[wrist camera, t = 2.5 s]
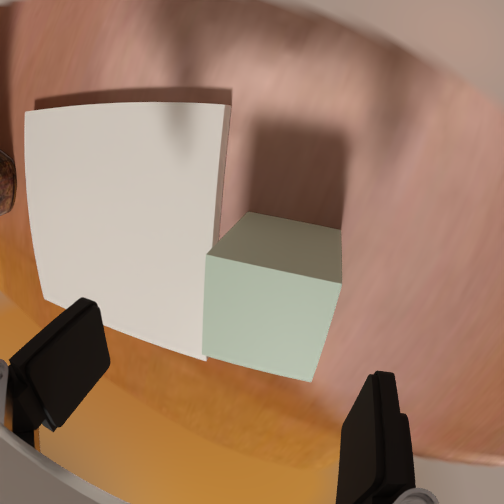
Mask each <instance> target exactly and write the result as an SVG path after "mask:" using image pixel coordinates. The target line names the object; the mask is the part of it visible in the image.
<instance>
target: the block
mask: <svg viewBox="0 0 504 504" xmlns="http://www.w3.org/2000/svg"><path fill="white" fill-rule="evenodd" d="M341 286H342V243H341V230H339V229H334V228H329V227H325V226H320V225H315V224H310V223H305V222H300V221H295V220H290V219H285V218H280V217H275V216H269V215H264V214H259V213H254V212H247V213H246V214H245V215H244V216H243V217H242V218H241V219H240V220H239V221H238V222H237V223H236V224H235V225H234V226H233V227H232V228H231V229H230V230H229V231H228V232H227V233H226V234H225V235H224V236H223V237H222V238H221V239H220V240H219V241H218V242H217V244H216V245H215V246H214V247H213V248H212V249H211V250H210V251H209V252H208V253H207V254H206V261H205V281H204V303H203V331H202V355H205V356H208V357H212V358H215V359H219V360H222V361H226V362H229V363H233V364H237V365H240V366H244V367H248V368H252V369H256V370H260V371H264V372H268V373H272V374H276V375H281V376H285V377H289V378H294V379H299V380H303V381H308V382H311V381H312V378H313V376H314V373H315V370H316V367H317V364H318V361H319V358H320V355H321V352H322V349H323V346H324V343H325V340H326V337H327V334H328V330H329V327H330V324H331V321H332V317H333V314H334V311H335V307H336V304H337V300H338V297H339V293H340V290H341Z"/></svg>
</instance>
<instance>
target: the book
mask: <svg viewBox="0 0 504 504" xmlns="http://www.w3.org/2000/svg"><path fill="white" fill-rule="evenodd" d="M16 186H17V179H16V169H15V165H14V161H13V159H12V158H10V157H9V156H8V155H6V154H5V153H4V152H3V151H1V150H0V216H1V215H3V214H5V213H8V212H10V211H11V209H12V208H13V205H14V202H15V197H16Z"/></svg>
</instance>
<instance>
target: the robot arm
mask: <svg viewBox="0 0 504 504" xmlns="http://www.w3.org/2000/svg"><path fill="white" fill-rule="evenodd" d="M9 361H10V365H9V366H8V365H7V363H6V362H5V361H4V360H2V359H0V504H130V503H128V502H125V501H123V500H121V499H119V498H117V497H115V496H113V495H111V494H109V493H107V492H105V491H103V490H101V489H99V488H97V487H96V486H94V485H92V484H90V483H88V482H87V481H85V480H83V479H81V478H80V477H78V476H76V475H74V474H73V473H71V472H69V471H68V470H66V469H64V468H63V467H61V466H60V465H58V464H56V463H55V462H53V461H52V460H50V459H49V458H47V457H46V456H44V455H43V454H42V453H41V452H40V440H39V426H40V425H41V424H43V425H44V426H45V427H46V428H48V429H50V430H51V431H53V432H54V431H55V430H56V428H57V427H61V426H62V425H63V424H64V423H65V421H66V420H67V419H68V418H69V417H70V415H71V414H72V413H73V411H74V410H75V409H76V408H77V406H78V405H79V404H80V403H81V401H82V400H83V399H84V398H85V396H86V395H87V394H88V393H89V391H90V390H91V389H92V388H93V387H94V385H95V384H96V383H97V382H98V380H99V379H100V378H101V377H102V376H103V374H104V373H105V372H106V371H107V369H108V368H109V366H110V356H109V352H108V347H107V342H106V338H105V333H104V327H103V322H102V316H101V311H100V308H99V307H98V305H97V303H96V302H95V301H92V300H90V299H87V298H84V297H81V298H79V299H78V300H77V301H76V302H74V303H73V304H72V305H71V306H70V307H68V308H67V309H66V310H65V311H64V312H62V313H61V314H60V315H59V316H58V317H56V318H55V319H54V320H53V321H52V322H51V323H49V324H48V325H47V326H46V327H45V328H44V329H42V330H41V331H40V332H39V333H38V334H37V335H36V336H35V337H33V338H32V339H31V340H30V341H29V342H28V343H27V344H26V345H24V347H22V348H21V349H20V350H19V351H18V352H17V353H16V354H15V355H13V356H12V357H11V358H10V359H9ZM336 504H439V502H438V500H437V498H436V496H435V495H434V494H432V492H430V491H428V490H426V489H422V488H416V486H415V473H414V462H413V452H412V443H411V435H410V428H409V421H408V417H407V415H406V414H404V413H400V407H399V400H398V394H397V387H396V381H395V376H394V373H391V372H384V371H376V372H375V373H374V375H373V374H369V375H368V377H367V379H366V381H365V383H364V385H363V387H362V389H361V391H360V393H359V395H358V397H357V399H356V401H355V403H354V405H353V407H352V408H351V410H350V412H349V414H348V416H347V418H346V419H345V421H344V423H343V426H342V430H341V445H340V461H339V475H338V486H337V496H336Z"/></svg>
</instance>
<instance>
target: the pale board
mask: <svg viewBox="0 0 504 504" xmlns="http://www.w3.org/2000/svg"><path fill="white" fill-rule="evenodd" d="M230 114H231V105H223V104H208V103H185V102H126V103H104V104H89V105H77V106H67V107H57V108H49V109H41V110H34V111H28V112H25V174H26V189H27V200H28V210H29V219H30V227H31V234H32V240H33V247H34V252H35V258H36V263H37V268H38V273H39V278H40V283H41V287H42V292H43V296H44V299H46V300H48V301H50V302H52V303H54V304H56V305H59V306H61V307H63V308H65V309H67V308H68V307H70V306H71V305H72V304H73V303H74V302H76V301H77V300H78V299H79V298H81V297H84V298H87V299H90V300H92V301H95V302H96V303H97V305H98V307H99V308H100V311H101V316H102V322H103V325H105V326H107V327H110V328H112V329H115V330H117V331H120V332H122V333H125V334H128V335H130V336H133V337H136V338H138V339H141V340H144V341H147V342H149V343H152V344H155V345H158V346H161V347H164V348H167V349H170V350H173V351H176V352H179V353H182V354H185V355H188V356H191V357H194V358H197V359H201V360H204V361H207V359H208V356H205V355H202V331H203V303H204V281H205V261H206V254H207V253H208V252H209V251H210V250H211V249H212V248H213V247H214V246H215V245H216V244H217V242H218V241H219V229H220V217H221V205H222V194H223V183H224V172H225V162H226V152H227V142H228V132H229V123H230Z"/></svg>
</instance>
